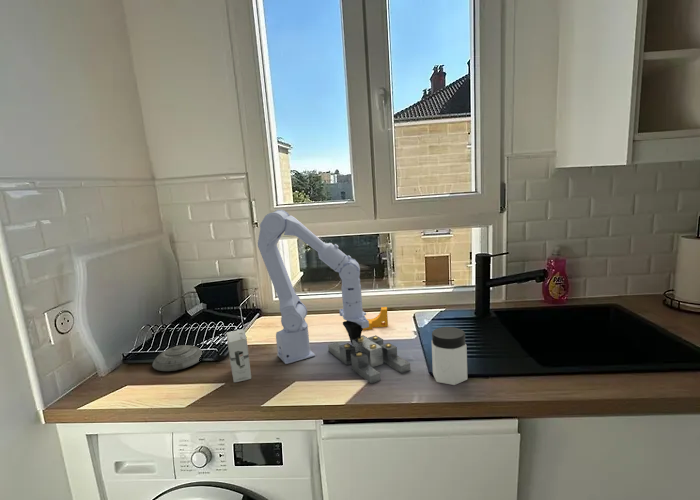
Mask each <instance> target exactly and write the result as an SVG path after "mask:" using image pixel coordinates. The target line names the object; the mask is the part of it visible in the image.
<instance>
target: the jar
mask: <svg viewBox="0 0 700 500" xmlns="http://www.w3.org/2000/svg"><path fill="white" fill-rule="evenodd" d="M431 337H432V338H431V360H432V363H431V366H432V375H433V377H434V380H435V382H436V383H441V384H444V385H445V384H446V385H452V386H456V385H458V384H460V383H462V382H463V383H464V382H465V381H467V380H468V350H467V348H468V347H467V344H466V331H464V330H463V329H461V328H457V327H453V326H442V327H438V328H435V329H433V331H432V332H431Z"/></svg>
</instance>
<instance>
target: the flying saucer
mask: <svg viewBox="0 0 700 500" xmlns="http://www.w3.org/2000/svg"><path fill="white" fill-rule="evenodd" d="M202 351H203V350H202V349H201V348H199V347H197V346H195V345H190V344H189V345H187V344H183V345H182V344H181V345H176V346H173V347H170V348H168V349H167V348H166V349H165V350H164V351H162V352H160V353H159V354H158V355H157V356H156V357H155V358H154V360H153V361H152V365H151V366H152V368H153V369H154V370H156V371H161V372H175V371H179V370H184V369H186V368H189V367H192V366H194V365H196V364H198V363H199V362H200V361H199V358H200V357H201V355H202Z"/></svg>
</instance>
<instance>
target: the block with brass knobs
mask: <svg viewBox="0 0 700 500" xmlns="http://www.w3.org/2000/svg"><path fill="white" fill-rule="evenodd" d="M364 336H365V335H364ZM364 336H363V337H358V338H356V339H352V343H353V345H352V346H353V347H355V353H356V352H359V351H361V352H362V353H364V354H365V355H367V356H368V365H369V366H371V367H372V368H374V367H377V366H380V365H383V364H384V362H383V353H382V347H381V346H380V345H378V344H376V343H375V342H373V341H371V340H369V339H368V337H367V336H365V337H364ZM366 337H367V338H366Z"/></svg>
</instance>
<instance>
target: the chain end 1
mask: <svg viewBox="0 0 700 500" xmlns="http://www.w3.org/2000/svg"><path fill="white" fill-rule="evenodd" d="M363 336H364V337H366V338H368V339H369V340H371V341H373V342H375V343H376V344H378V345H382V344H384V338H381V337H380V336H378V335H373V336H369V337H367V336H365V335H362V334H361V337H363ZM327 349H328V352H329V353H330V354H332V355H333V356H334V357H336V359H338V360H340V361H341V362H342V363H343V364H344V365H346V366H350V365H352V363H351V354H352V353H355V347H353V345H352V344H351V343H349V342H348V343H344V344H340V343H338V342H335V343H331V344H328V345H327Z"/></svg>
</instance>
